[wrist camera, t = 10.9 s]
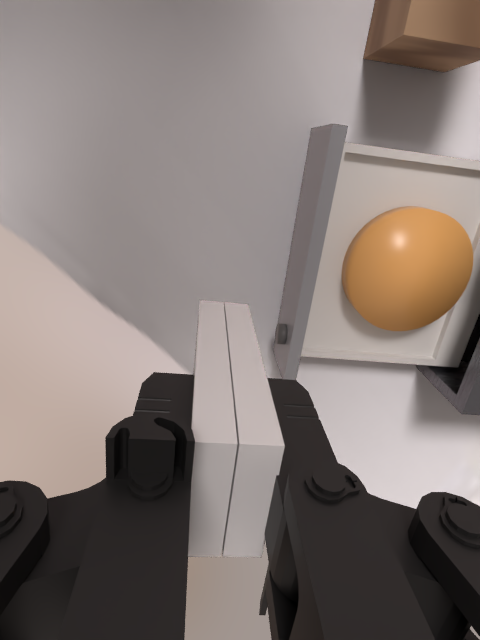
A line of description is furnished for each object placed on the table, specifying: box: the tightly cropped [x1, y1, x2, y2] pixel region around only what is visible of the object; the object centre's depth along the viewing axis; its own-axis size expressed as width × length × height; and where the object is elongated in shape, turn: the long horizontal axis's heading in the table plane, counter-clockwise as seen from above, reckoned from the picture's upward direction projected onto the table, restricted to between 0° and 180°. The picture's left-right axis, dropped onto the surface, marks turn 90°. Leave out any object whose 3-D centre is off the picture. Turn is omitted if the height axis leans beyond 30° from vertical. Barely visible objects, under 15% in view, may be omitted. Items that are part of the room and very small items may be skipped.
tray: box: [273, 124, 480, 380], centre depth 25 cm, size 14×15×4 cm
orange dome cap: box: [342, 206, 473, 331], centre depth 25 cm, size 8×8×2 cm
